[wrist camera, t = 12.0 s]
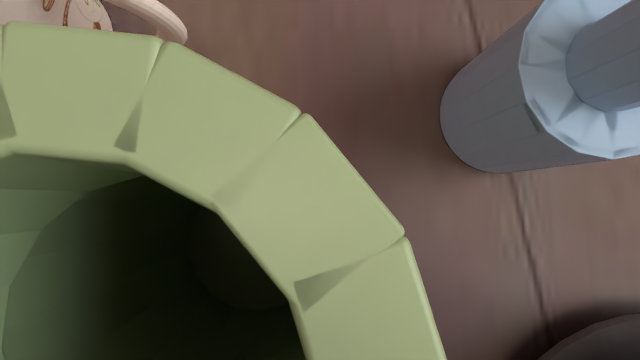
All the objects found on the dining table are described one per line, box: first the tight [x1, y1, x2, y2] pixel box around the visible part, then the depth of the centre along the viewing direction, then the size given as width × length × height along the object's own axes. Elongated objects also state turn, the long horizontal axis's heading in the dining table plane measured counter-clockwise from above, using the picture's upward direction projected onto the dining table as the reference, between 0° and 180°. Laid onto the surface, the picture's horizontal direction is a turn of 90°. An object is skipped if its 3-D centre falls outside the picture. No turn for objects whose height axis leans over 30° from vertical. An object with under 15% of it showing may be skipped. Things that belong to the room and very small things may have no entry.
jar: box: [0, 21, 447, 360], centre depth 9 cm, size 6×6×13 cm
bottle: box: [440, 0, 640, 173], centre depth 16 cm, size 6×6×11 cm
